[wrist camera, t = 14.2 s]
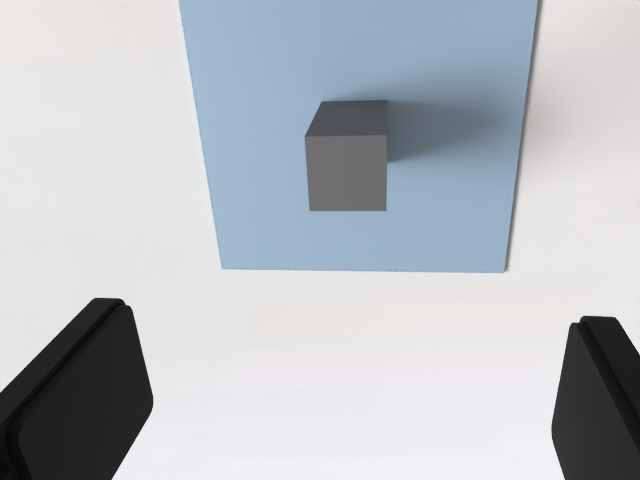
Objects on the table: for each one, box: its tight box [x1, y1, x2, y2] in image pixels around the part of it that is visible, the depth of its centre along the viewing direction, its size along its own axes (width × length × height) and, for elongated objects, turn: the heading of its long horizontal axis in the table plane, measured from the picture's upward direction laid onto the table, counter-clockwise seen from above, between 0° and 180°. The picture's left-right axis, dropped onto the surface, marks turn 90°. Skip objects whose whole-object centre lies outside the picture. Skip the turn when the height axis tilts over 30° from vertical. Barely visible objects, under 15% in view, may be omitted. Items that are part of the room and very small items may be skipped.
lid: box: [179, 0, 538, 273], centre depth 23 cm, size 15×15×6 cm
